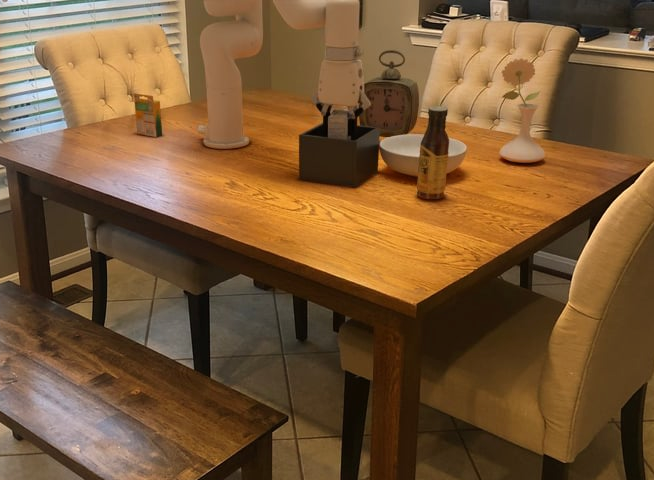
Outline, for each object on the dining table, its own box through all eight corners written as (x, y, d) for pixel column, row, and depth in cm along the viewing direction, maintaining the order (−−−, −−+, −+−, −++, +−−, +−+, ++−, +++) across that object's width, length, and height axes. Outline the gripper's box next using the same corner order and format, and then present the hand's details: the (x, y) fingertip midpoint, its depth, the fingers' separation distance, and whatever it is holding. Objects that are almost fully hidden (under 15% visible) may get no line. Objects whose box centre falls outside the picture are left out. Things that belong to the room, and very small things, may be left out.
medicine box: (346, 153, 190) (347, 116, 186) (327, 152, 191) (328, 115, 187) (350, 145, 197) (351, 109, 193) (332, 144, 198) (333, 108, 194)
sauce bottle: (413, 192, 185) (419, 104, 176) (440, 191, 185) (447, 103, 176) (420, 201, 179) (426, 111, 170) (447, 201, 180) (455, 110, 170)
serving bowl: (411, 190, 186) (412, 160, 183) (362, 167, 203) (363, 140, 200) (482, 177, 195) (485, 149, 192) (430, 156, 212) (431, 130, 208)
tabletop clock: (357, 147, 220) (360, 51, 209) (367, 139, 228) (370, 46, 216) (409, 152, 215) (415, 54, 204) (417, 144, 223) (424, 49, 211)
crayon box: (163, 135, 233) (159, 94, 228) (156, 137, 231) (152, 96, 226) (143, 132, 237) (140, 91, 231) (136, 134, 234) (133, 93, 229)
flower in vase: (547, 157, 210) (561, 56, 199) (540, 168, 201) (554, 64, 190) (497, 151, 215) (507, 53, 204) (487, 162, 206) (498, 60, 195)
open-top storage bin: (298, 179, 194) (298, 134, 189) (324, 164, 206) (324, 121, 201) (355, 187, 188) (356, 141, 183) (378, 171, 200) (380, 127, 195)
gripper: (382, 54, 184) (379, 133, 192) (314, 49, 191) (313, 126, 199) (370, 59, 178) (367, 141, 186) (300, 54, 185) (300, 133, 193)
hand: (339, 132), depth 192 cm, fingers closed on medicine box, 5 cm apart
